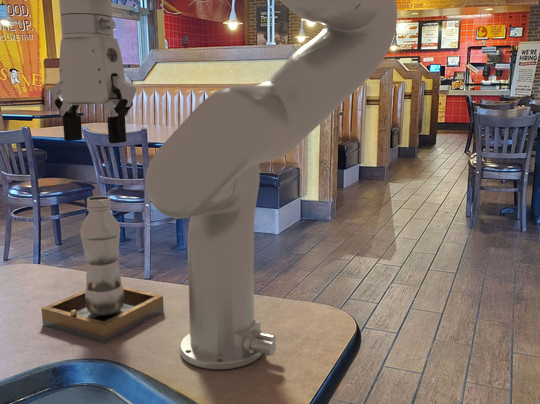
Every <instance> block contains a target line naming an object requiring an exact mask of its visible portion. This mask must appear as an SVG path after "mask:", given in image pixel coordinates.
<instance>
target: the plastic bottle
mask: <svg viewBox="0 0 540 404" xmlns="http://www.w3.org/2000/svg"><path fill="white" fill-rule="evenodd" d="M86 203H87V204H86V205H87V206H86V211H88V214H87V216H86V217H85V218H84V220H83V222H82V223H81V226H80V229H79V233H80V240H81V244H82V248H83V251H84V259H85V266H86V283H85V284H86V286H85V287H86V289H85V290H86V292H85V304H86V308H87V310H88V311H89V313H90V314H92V315H94V316H108V315H113V314H115V313H118V312H119V311H120V310H121V309H122V307H123V305H124V298H125V296H124V291H123V287H124V286H123V284H122V279H121V271H120V260H119V259H120V256H119V255H120V253H119V252H120V251H119V250H120V237H121V227H120V224H119V222H118V220H117V219H116V217H115V216H114V215H113V214H112V213H111V211H110V210H112V205H111V198H110V196H106V195H105V196H104V195H101V196H100V195H99V196H98V195H97V196H90V197H87V198H86Z"/></svg>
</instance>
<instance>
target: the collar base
mask: <svg viewBox="0 0 540 404" xmlns="http://www.w3.org/2000/svg"><path fill="white" fill-rule="evenodd" d="M122 287H123V291H124V296H125V298H124V305H123V307H122V309H121V310H120V311H119V312H118V313H115V314H113V315H108V316H94V315H92V314H90V313H89V311H88V310H87V308H86V304H85V292H86V289H85V290H83V291H80V292H78V293H76V294H72V295H70V296H68V297H66V298H63V299H61V300H59V301H56V302H54V303H51V304H48V305H46V306H44V307H41V317H42V318H41V319H42V325H43V326H44V327H48V328H50V329H54V330H57V331H62V332H64V333H67V334H71V335H74V336H78V337H82V338H84V339H87V340H91V341H94V342H98V343H101V344H104V345H106V344H107V343H108V342H110V341H112V340H115V339H117V338H118V337H120V336H122V335H124V334H126V333H128V332H129V331H132V330H133V329H134V328H137V327H139V326H140V325H142V324H144V323H146V322H148V321H150V320H152V319H153V318H155V317H157V316H158V315H161V314H162V313H164V296H163V295H161V294H156V293H152V292H147V291H143V290H139V289H135V288H131V287H130V288H129V287H127V286H126V287H125V286H122Z"/></svg>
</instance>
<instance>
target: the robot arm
mask: <svg viewBox="0 0 540 404" xmlns="http://www.w3.org/2000/svg"><path fill="white" fill-rule="evenodd" d="M279 2H280V3H282V4H283V5H284V6H285V7H286V8H288V9H289V11H291V12H293V13H294V14H295V15H297V16H299V17H300V18H303V19H304V20H306V21H308V22H309V21H310V22H311V23H317V24H319V25H324V27H323V29H322V30H321V31H320V32H319V33H318V34H317V35H316V36H315V37H314V38H312V39H311V40H309V41H307V43H305V44H304V45H302V46H301V47H300V48H298V49H297V50H296V51H295V52H294V53H293V54H292V55H291V56H290V57H289V58H288V59H287V60H286V62H285V63H284V64H283V65H281V66H280V67H279V68H278V69H277V70H276V71H275V72H274V73H273V74H271V76H270V77H269V78H267V79H266V80H265V81H263V82H262V83H260V84H256V85H232V86H228V87H225V88H221V89H220V90H218V91H216V92H214V93H212V94H211V95H209V96H208V97H206V99H204V100H203V101H202V102H200V104H199V105H198V106H197V107H196V108H195V109H194V110H193V111H192V112H191V113H190V114H189V115H188V116H187V117H186V119H184V121H183V122H182V123H181V124H180V125H179V126H178V127H177V129H175V131H174V132H172V134H171V135H170V136H169V137H168V138H167V139H166V141H164V143H163V144H162V145H161V146H160V147H159V148H158V150H157V151H155V153H154V155H153V157H152V158H151V160H150V161H149V164H148V166H147V170H146V175H145V190H146V194H147V196H148V199H149V201H150V203H151V204H152V206H154V208H155V209H156V210H158V211H159V212H160V213H162V214H163V215H165V216H167V217H171V218H173V219H189V218H190V219H189V224H188V231H187V271H188V272H187V275H188V277H187V278H188V279H187V280H188V304H189V305H188V307H189V310H188V311H189V312H188V313H189V333H188V334H187V335H185V336H184V337H183V338H182V340H181V341H180V342H179V343H180V344H179V353H180V356H181V358H182V359H183V360H184V361H186V362H187V363H189V364H190V365H193V366H195V367H197V368H201V369H205V370H206V369H209V370H229V369H230V370H231V369H236V368H240V367H244V366H247V365H249V364H252V363H254V362H255V361H256V360H258V359H259V358H260V357H261V356H262V355H266V356H270V357H273V356H274V354H275V353H276V350H277V349H276V348H277V344H276V341H277V338H276V335H275V334H270V333H264V332H263V331H262V330H261V321H260V320H258V319H257V320H256V319H255V304H254V303H255V295H254V293H255V291H254V290H255V289H254V285H255V283H254V282H255V281H254V279H255V278H254V276H255V275H254V274H255V273H254V271H255V270H254V266H255V265H254V263H255V262H254V258H255V254H254V252H255V248H254V247H255V244H254V243H255V239H254V238H255V219H256V218H255V216H256V207H257V200H258V194H259V188H260V177H261V176H260V167H259V166H260V165H259V164H264V163H267V162H270V161H275V160H278V159H282V158H283V157H285V156H286V155H288V154H289V153H291V152H292V151H293V150H294V149H295V148H297V146H298V145H299V144H301V142H302V141H303V140H304V139H305V138H306V137H307V136H308V135H309V134H310V133H311V132H313V131H314V130H315V129H317V127H318V126H320V125H321V124H322V123H323V122H324V121H325V120H326V119H327V118H329V116H330V115H331V114H332V113H334V111H335V110H337V108H338V107H340V105H342V104H343V103H344V102H345V101H346V100H347V99H349V97H351V95H353V93H355V92H356V91H357V90H358V89H359V88H360V87H361V86H362V85H364V83H366V81H367V80H368V79H369V78H370V77H371V76H372V75H373V74H374V73H375V72H376V70H377V69H378V67H379V66H380V65H381V64H382V62H383V61H384V59H385V58H386V56H387V54H388V53H389V50H390V48H391V47H392V46H391V45H392V44H393V41H394V37H395V34H396V29H397V22H398V6H397V5H398V4H397V0H279ZM58 4H59V14H60V15H59V16H60V28H61V39H60V46H59V61H58V63H59V81H58V82H57V83H55V85H53V86H52V87H51V88H50V93H51V96H52V98H53V101H54V105H55V107H56V108H57V109H58V114H59V115H60V117H62V127H63V128H62V129H63V138H64V139H63V140H64V141H65V142H75V141H81V140H82V139H83V132H82V130H83V129H82V118H81V115H78V113H79V111H80V110H81V108H82V105H103V106H104V108H105V109H106V111H107V113H109V115H110V116H107V119H106V120H107V121H106V122H107V136H108V138H107V139H108V143H109V144H120V143H126V142H127V131H126V128H127V127H126V117H128V116H129V111H130V109H131V108H132V107H133V104H134V103H133V101H134V98H135V96H136V92H137V89H136V87H135V86H134V85H132V84H131V83H129V82H128V81H126V77H125V71H124V70H125V69H124V63H123V57H122V52H121V48H120V45H119V41H118V39H117V38H114V29H115V28H116V22H115V21H114V20H113V12H112V9H113V8H112V0H58Z"/></svg>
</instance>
